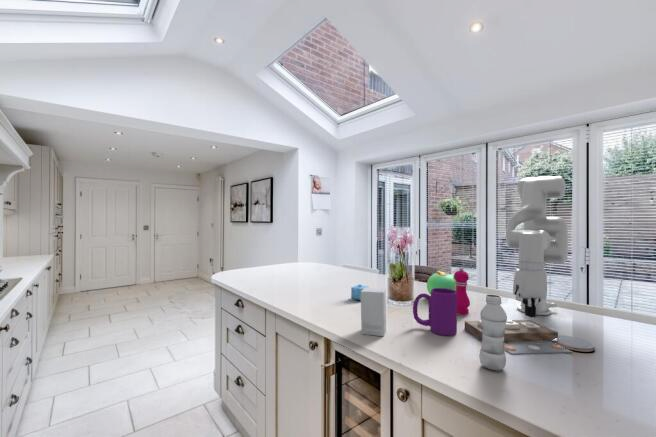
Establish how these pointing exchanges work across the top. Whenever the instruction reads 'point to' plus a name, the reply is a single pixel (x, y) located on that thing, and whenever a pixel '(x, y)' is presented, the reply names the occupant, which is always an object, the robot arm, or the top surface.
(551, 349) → the pattern card
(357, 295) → the teapot
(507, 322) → the middle button
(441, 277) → the toy bird
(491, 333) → the plastic bottle
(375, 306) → the skincare box
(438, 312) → the mug
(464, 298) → the pepper mill
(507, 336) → the button board
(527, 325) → the button
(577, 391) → the top surface
